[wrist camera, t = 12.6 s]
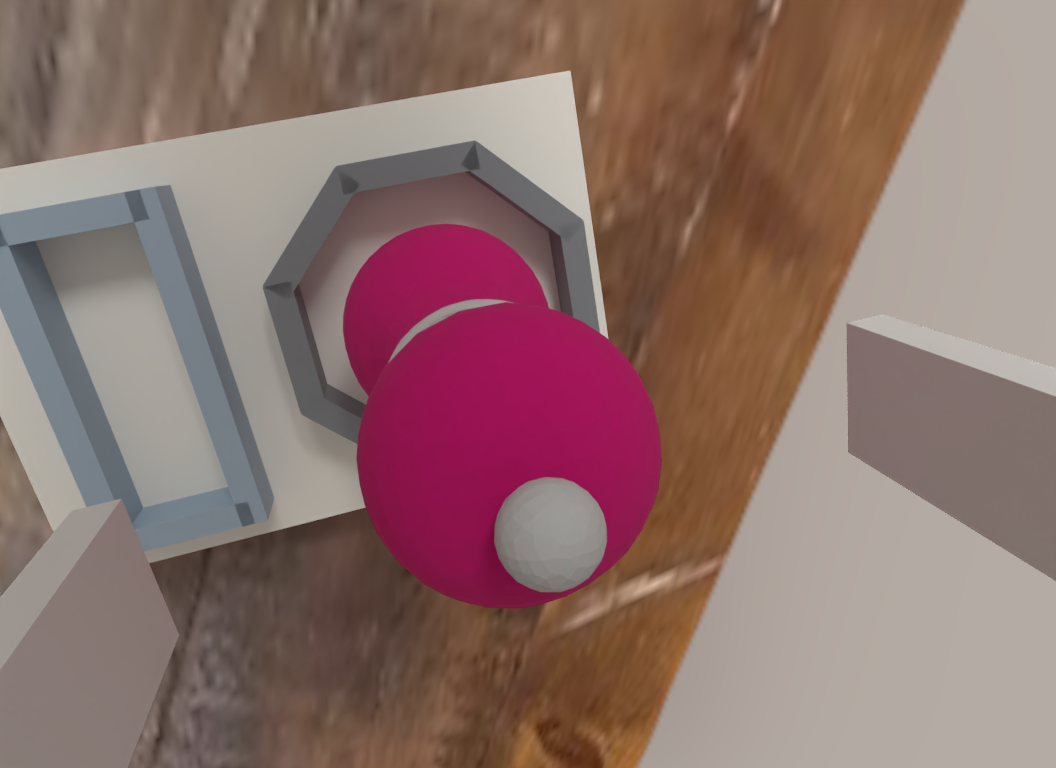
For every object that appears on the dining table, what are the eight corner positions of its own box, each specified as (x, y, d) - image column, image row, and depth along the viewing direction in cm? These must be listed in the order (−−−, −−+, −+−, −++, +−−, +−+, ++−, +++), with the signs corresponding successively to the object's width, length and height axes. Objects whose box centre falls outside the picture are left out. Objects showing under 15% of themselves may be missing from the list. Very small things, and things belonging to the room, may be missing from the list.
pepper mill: (496, 193, 28) (754, 251, 9) (541, 359, 31) (815, 665, 12) (319, 245, 27) (216, 422, 9) (380, 411, 30) (403, 830, 11)
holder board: (-79, 185, 25) (-146, 188, 22) (560, 75, 29) (585, 63, 25) (89, 562, 30) (56, 610, 27) (612, 429, 34) (638, 458, 31)
